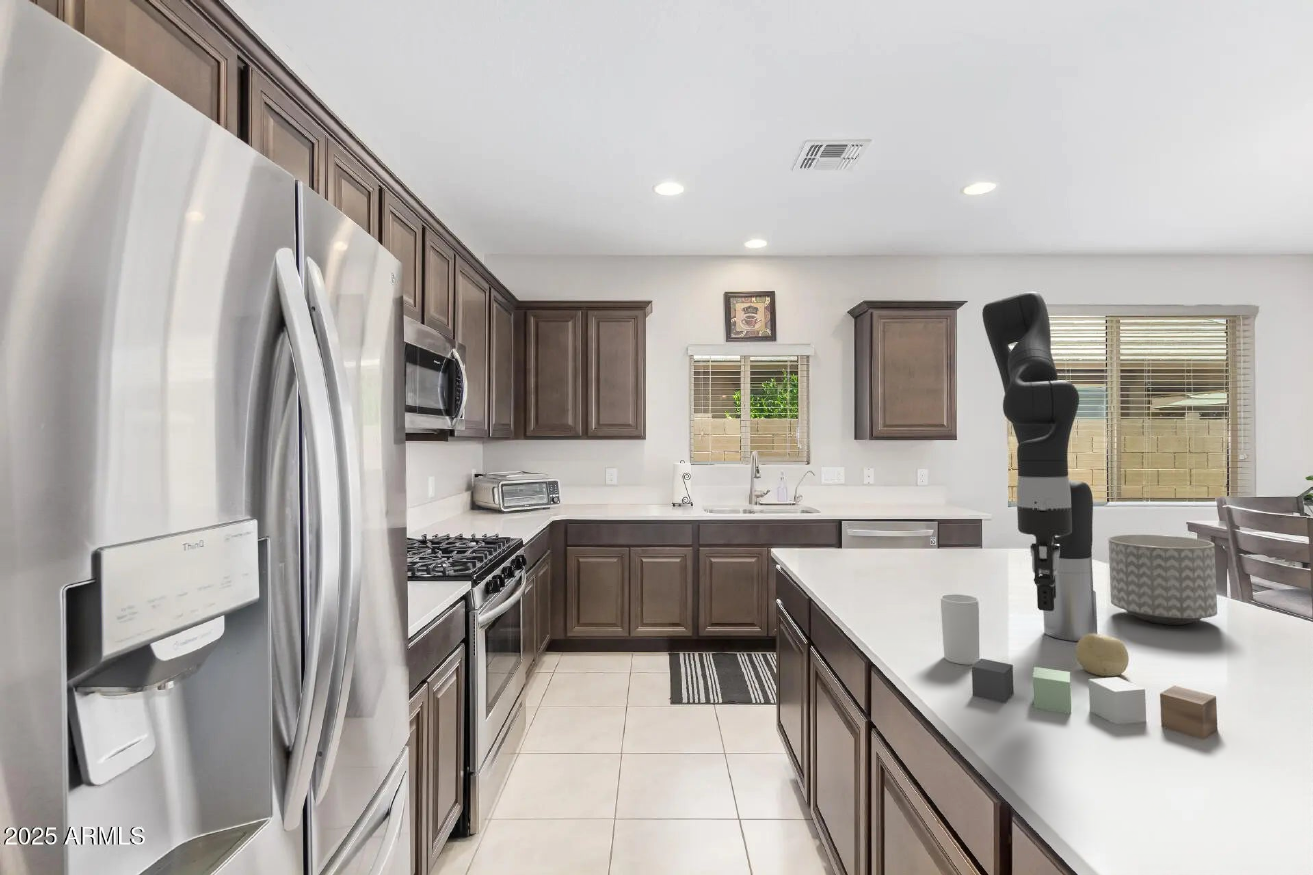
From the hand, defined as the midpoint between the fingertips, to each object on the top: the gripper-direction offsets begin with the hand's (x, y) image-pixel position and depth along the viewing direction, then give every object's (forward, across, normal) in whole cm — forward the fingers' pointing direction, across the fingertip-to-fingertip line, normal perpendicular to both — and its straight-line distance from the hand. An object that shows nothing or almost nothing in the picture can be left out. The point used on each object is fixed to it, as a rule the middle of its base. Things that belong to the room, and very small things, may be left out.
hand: (1047, 603), depth 103 cm
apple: (+16, -20, +7) cm, 27 cm away
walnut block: (+16, 0, +17) cm, 24 cm away
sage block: (+16, 0, 0) cm, 16 cm away
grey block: (+16, 0, +9) cm, 19 cm away
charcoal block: (+16, 0, -8) cm, 18 cm away
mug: (+16, -18, -15) cm, 28 cm away
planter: (+16, -64, +20) cm, 69 cm away
